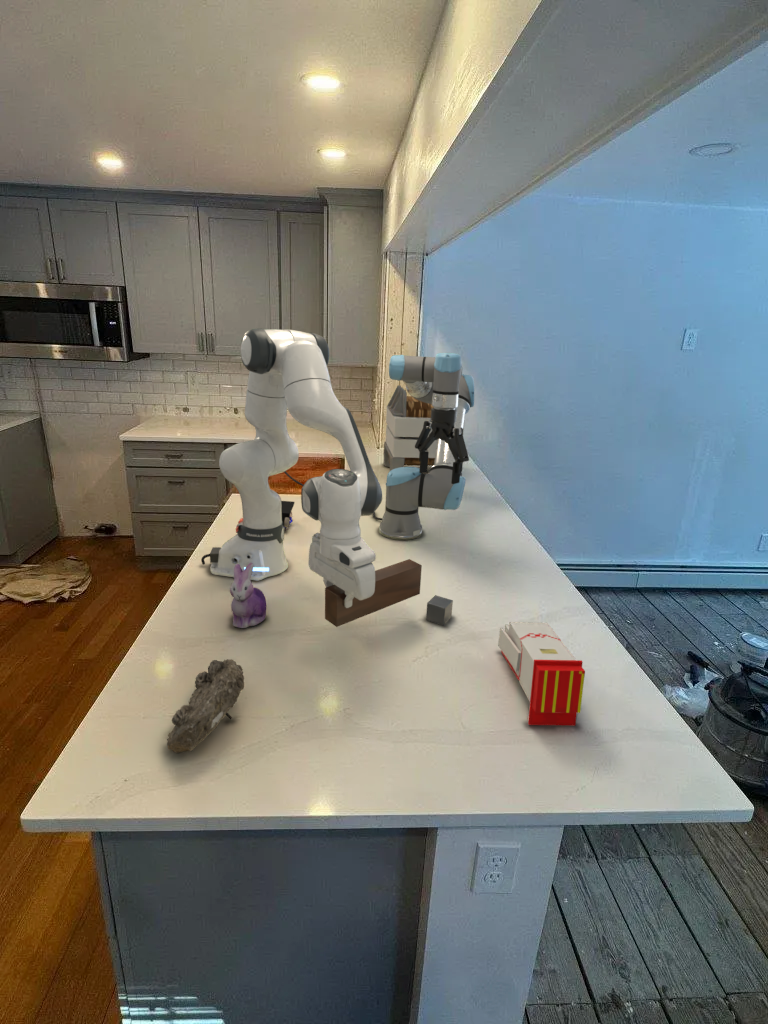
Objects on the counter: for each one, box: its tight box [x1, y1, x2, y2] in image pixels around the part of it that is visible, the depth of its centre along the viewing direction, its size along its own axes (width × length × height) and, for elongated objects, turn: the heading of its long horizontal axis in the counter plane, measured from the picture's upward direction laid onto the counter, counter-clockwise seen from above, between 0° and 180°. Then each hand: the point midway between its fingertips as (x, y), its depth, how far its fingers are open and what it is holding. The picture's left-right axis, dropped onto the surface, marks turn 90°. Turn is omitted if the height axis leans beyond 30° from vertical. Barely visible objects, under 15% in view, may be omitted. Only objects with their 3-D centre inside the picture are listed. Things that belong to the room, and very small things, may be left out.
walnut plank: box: [324, 558, 423, 628], centre depth 135 cm, size 4×26×8 cm, turn 131°
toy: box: [497, 621, 586, 727], centre depth 121 cm, size 12×13×30 cm
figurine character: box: [281, 500, 295, 533], centre depth 201 cm, size 7×8×15 cm
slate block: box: [425, 594, 454, 626], centre depth 145 cm, size 5×5×5 cm
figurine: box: [229, 563, 268, 629], centre depth 139 cm, size 9×10×15 cm
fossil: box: [166, 658, 245, 754], centre depth 106 cm, size 22×10×15 cm
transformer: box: [383, 384, 465, 472], centre depth 268 cm, size 34×33×41 cm
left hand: (339, 601), depth 128 cm, fingers closed on walnut plank, 4 cm apart
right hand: (438, 477), depth 173 cm, fingers open, 13 cm apart
